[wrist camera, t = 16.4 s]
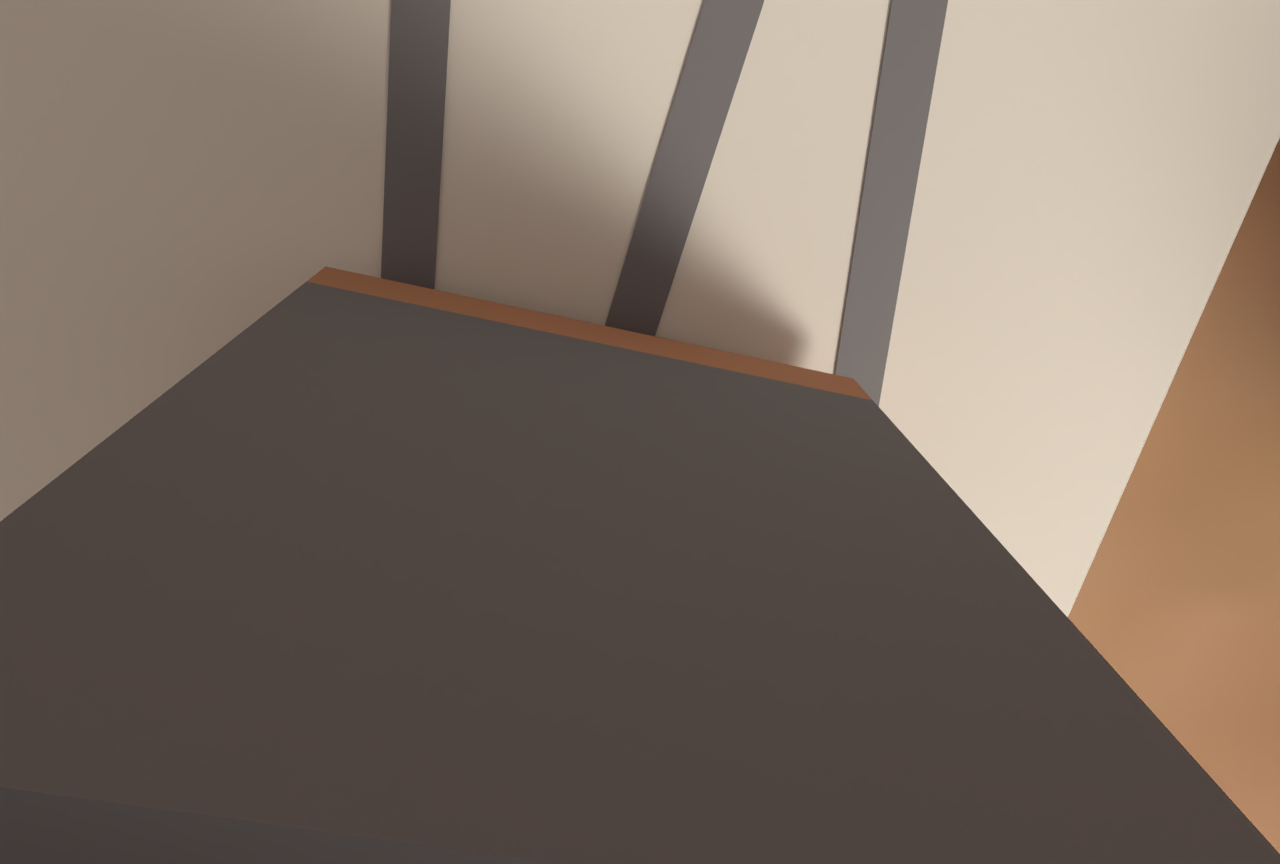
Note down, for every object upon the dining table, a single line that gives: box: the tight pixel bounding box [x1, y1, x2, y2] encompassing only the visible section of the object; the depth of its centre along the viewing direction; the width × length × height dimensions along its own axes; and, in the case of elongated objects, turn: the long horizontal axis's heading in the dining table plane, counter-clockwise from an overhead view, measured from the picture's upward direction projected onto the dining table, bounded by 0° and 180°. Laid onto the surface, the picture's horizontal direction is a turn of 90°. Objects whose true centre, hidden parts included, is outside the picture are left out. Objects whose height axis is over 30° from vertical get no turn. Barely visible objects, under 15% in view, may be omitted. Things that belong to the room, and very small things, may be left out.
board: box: [0, 0, 1280, 617], centre depth 12 cm, size 26×14×2 cm, turn 167°
